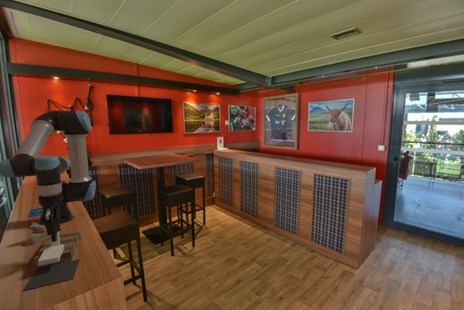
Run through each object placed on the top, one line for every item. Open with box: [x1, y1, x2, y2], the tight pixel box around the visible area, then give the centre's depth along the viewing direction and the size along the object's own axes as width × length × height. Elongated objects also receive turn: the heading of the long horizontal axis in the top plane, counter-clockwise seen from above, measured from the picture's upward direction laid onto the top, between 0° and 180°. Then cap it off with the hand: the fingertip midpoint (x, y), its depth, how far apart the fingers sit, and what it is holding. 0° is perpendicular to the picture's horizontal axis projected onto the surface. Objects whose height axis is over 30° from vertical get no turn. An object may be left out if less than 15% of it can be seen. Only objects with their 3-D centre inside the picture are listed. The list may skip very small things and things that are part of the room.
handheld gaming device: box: [28, 206, 42, 218], centre depth 139 cm, size 8×1×15 cm
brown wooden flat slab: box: [33, 230, 82, 269], centre depth 96 cm, size 20×12×4 cm, turn 26°
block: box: [38, 244, 64, 267], centre depth 86 cm, size 9×6×2 cm, turn 26°
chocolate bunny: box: [25, 222, 47, 247], centre depth 104 cm, size 6×8×10 cm
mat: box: [22, 258, 81, 292], centre depth 82 cm, size 13×14×1 cm
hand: (55, 247), depth 91 cm, fingers closed
